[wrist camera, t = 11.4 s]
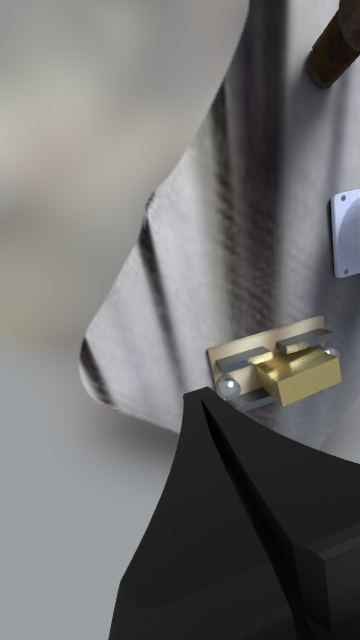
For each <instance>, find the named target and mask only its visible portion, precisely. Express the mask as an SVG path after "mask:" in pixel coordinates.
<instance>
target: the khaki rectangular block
mask: <svg viewBox="0 0 360 640" xmlns="http://www.w3.org/2000/svg"><path fill="white" fill-rule="evenodd" d="M272 357H273V359H270V360H267V361H264V362H261V363H258V364H255V365H254V368H255V372H256V376H257V380H258V383H259V384H260V385H261V386H262V387H263V388H264V389H265V390H266V391H267V392H268V393H269V394H270V395H271V396H272V397H273V398H274V399H275V400H276V401H277V402H279V403H280V404H281V405H282V406H283V407H284V406H286V405H289V404H291V403H293V402H296V401H298V400H300V399H303V398H305V397H307V396H310V395H312V394H315V393H317V392H319V391H322V390H324V389H326V388H329V387H331V386H333V385H336V384H338V383H340V382H342V379H341V372H340V365H339V358H338V357H337V356H334V355H332V354H329V353H327V352H325V351H322V350H320V349H317V348H315V347H312V346H311V347H308V348H305V349H302V350H299V351H296V352H292V353H289V354H287V353H285V352H283V351H282V352H279V353H277V354H274V355H272Z"/></svg>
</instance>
